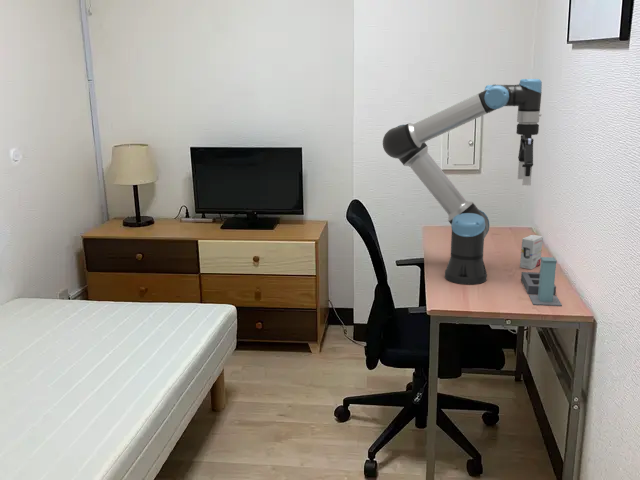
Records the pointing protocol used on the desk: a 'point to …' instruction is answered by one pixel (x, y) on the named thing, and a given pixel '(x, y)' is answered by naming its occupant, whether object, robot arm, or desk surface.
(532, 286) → the header
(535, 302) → the pad
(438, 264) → the desk surface
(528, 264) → the ink box
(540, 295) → the plug
